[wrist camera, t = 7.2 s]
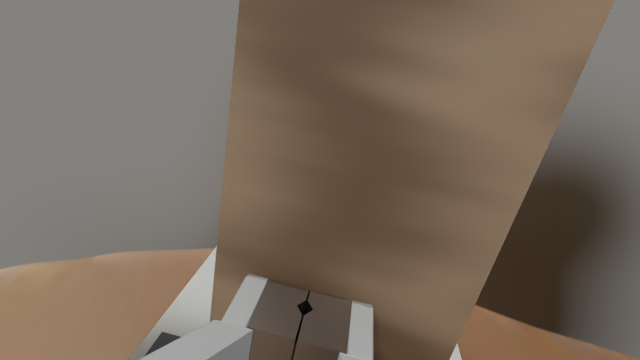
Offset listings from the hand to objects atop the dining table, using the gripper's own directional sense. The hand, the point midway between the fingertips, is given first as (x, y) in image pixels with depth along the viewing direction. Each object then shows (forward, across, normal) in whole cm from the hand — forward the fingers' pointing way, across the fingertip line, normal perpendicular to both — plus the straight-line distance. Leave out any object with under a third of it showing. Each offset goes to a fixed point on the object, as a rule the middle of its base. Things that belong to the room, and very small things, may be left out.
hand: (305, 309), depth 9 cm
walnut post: (+2, +1, -6) cm, 7 cm away
